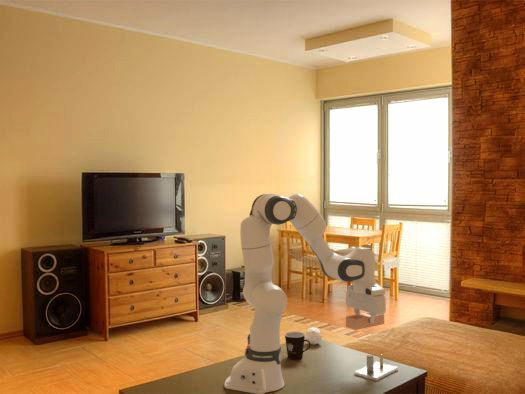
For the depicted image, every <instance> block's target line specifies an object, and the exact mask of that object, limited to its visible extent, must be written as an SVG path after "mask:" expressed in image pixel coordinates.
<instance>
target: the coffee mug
mask: <svg viewBox="0 0 525 394" xmlns="http://www.w3.org/2000/svg"><path fill="white" fill-rule="evenodd" d="M305 334H306V333H304V332H300V331H289V332H286V333H285V334H284V339H285V346H286V355H287V359H289V360H291V361H298V360H302V359H303V357H304V355H303V354H304V352H306V351H308V350H309V349H310V348H311V344H310V342H309V341H308V340H306V337H305ZM305 342H307V343H308V347H307V348H306V349H304V348H305V347H304V346H305Z"/></svg>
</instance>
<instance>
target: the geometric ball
mask: <svg viewBox="0 0 525 394" xmlns="http://www.w3.org/2000/svg"><path fill="white" fill-rule="evenodd" d="M304 334H305V340H308V341H309V342H310V345H312V346H314V345H319V343H320V342H321V340H322V338H323V336H322V332H321V330H320V329H319V328H317V327H309V328H308V329H307V330H306V331H305V333H304Z"/></svg>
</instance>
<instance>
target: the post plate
mask: <svg viewBox="0 0 525 394" xmlns="http://www.w3.org/2000/svg"><path fill="white" fill-rule="evenodd" d="M374 359H375V358H374V356H373V355H369V354H368V355H366V366H363V367H362V368H360V369H357V370H355V371H354V373H353V374H354V375H355V376H357V377H360V378H363V379H364V378H365V379H368V380H371V381H374V382H378V381H379V380H381V379H384V378H385V377H387V376H389V375H391V374H394V373H395V372H397V371H398V370H399V367H398V366H396V365H392V364H387V363H384V354H383V353H380V354H379V361H375V362H374Z"/></svg>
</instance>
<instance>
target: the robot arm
mask: <svg viewBox="0 0 525 394" xmlns="http://www.w3.org/2000/svg"><path fill="white" fill-rule="evenodd" d="M288 222H290V224H291V225H292V226H293V227H294V229H295V230H296V231H297V233H298V234H299V235H300V236H301V237H302V238H303V240H305V242H306V243H307V244H308V246H309V248H310V249H311V251H312V252H313V253H314V255H315V256H316V257H317V259H318V260H319V263H320V267H321V271H322V273H323V274H324V275H325V276H326V277H327V278H329V279H335V280H338V281H341V282H344V283H345V282H347V283H349V282H353V283H349V285H348V286H347V290H346V295H345V304H346V306H347V307H350V308H353V311H354V315H357V314H361V311H363V312H365V313H368V312H369V313H370V315H371V317H370V319H368V323H370V324H374V319H375V317H376V315H382V314H384V315H385V313H386V309H387V306H386V305H387V304H386V297H385V294H386V289H385V288H384V287H382V286H381V285H380V284H379V283H377V281H376V275H375V273H376V257H375V252H374V251H373V250H372V249H371V248H369V247H364V246H356V247H354V249H353V250H352V251H350V252H349V253H348V254H346V255H340V254H338V253H336V252H334V251H333V250H332V249H331V248H330V246H329V245H328V243H327V242H326V240H325V239H324V237H323V235H325V232H326V229H327V223H326V221H325V219H324V217H323V216H322V214H321V213H320V211H319V210H318V209H317V208H316V207H315V205H314V204H313V203H312V202H311V201H310V200H309V199H308V198H306V196H304V194H302V193H301V194H300V193H294V194H292V195H290V196H288V197H286V196H283V195H278V194H274V193H265V194H264V193H263V194H261V195H259V196H256V198H255V199H254V200H253V202H252V204H251V210H250V212H249V216H247V217H245V218H244V219H243V220H242V221H241V222H240V246H241V252H242V258H243V265H244V286H243V288H242V295H243V297H244V299H245V301H246V303H247V304H249V305H250V306H251V307H252V308H254V314H253V319H252V323H251V324H250V327H249V334H250V344H249V345H248V344H247V346H246V347H245V350H244V355H245V356H244V357H243V358H242V359H240V360H239V361H238V362H237V363H235V364H234V365H233V367H232V369H231V371H230V375H229V376H228V377H227V378H226V379H225V381H224V385H223V387H224V388H225V389H227V390H233V391H239V392H244V393H250V394H266V393H269V392H276V391H278V390H281V389H282V388H284V386H285V385H286V384H285V380H284V378H283V373H282V366H281V362H282V348H281V346H280V344H281V343H280V342H281V341H280V336H281V335H280V334H281V333H280V332H281V331H280V329H281V328H280V327H281V323H282V322H281V320H282V316H283V312H284V311H285V310H286V308H287V306H288V296H287V294H286V293H285V292H284V290H283V289H282V288H281V287H280V286H278V285H276V284H274V283H273V280H272V278H273V277H272V276H273V275H272V273H273V267H274V265H275V261H274V255H273V254H274V253H273V247H272V242H271V236H270V233H271V232H270V231H271V227H272V225H276V226H277V225H279V226H280V225H284V224H286V223H288Z"/></svg>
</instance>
